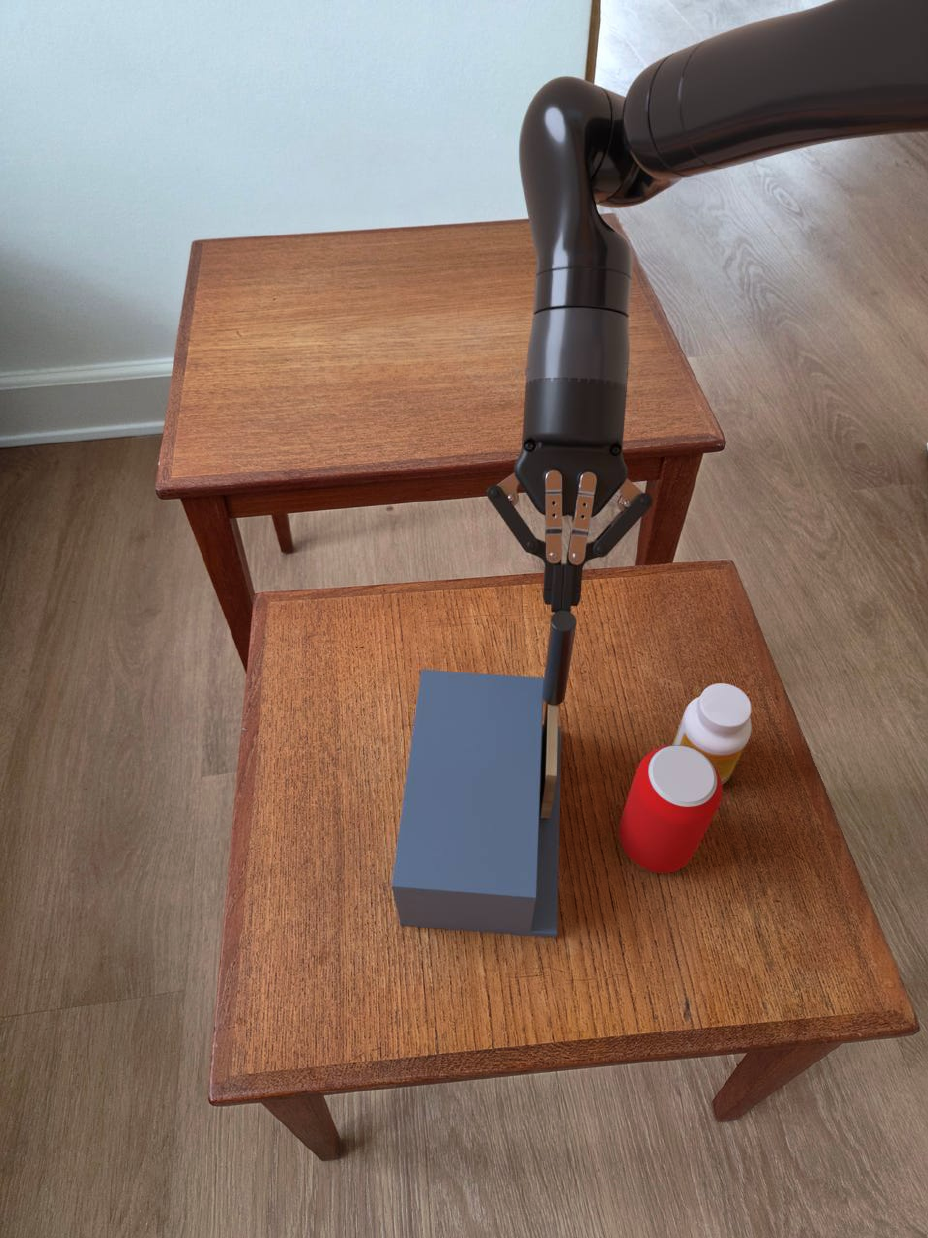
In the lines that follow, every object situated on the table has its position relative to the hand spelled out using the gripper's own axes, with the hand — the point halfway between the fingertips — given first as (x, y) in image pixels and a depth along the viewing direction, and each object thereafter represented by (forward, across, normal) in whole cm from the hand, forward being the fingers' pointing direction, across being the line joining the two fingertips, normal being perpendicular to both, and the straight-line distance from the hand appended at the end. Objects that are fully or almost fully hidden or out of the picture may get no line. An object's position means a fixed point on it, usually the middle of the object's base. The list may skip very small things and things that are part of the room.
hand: (560, 611), depth 66 cm
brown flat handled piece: (+14, 0, +4) cm, 15 cm away
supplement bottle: (+13, +13, +7) cm, 20 cm away
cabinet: (+18, -6, +2) cm, 19 cm away
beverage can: (+19, +9, +2) cm, 21 cm away
